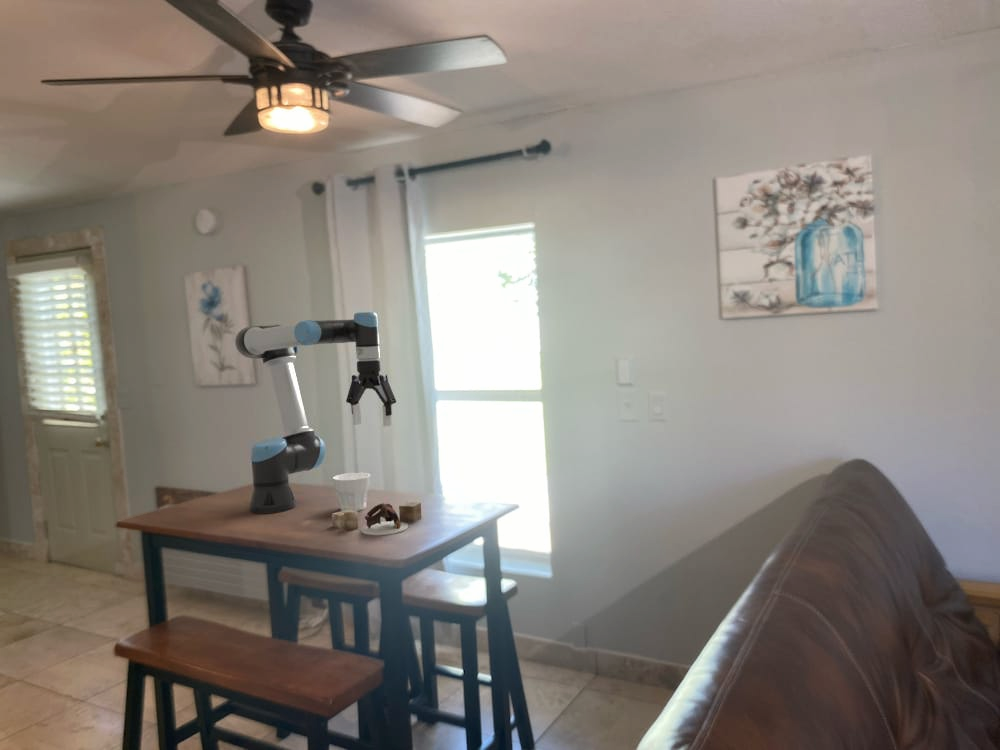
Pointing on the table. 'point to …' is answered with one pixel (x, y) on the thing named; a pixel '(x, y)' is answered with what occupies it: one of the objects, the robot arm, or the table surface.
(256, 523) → the table surface
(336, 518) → the maple block
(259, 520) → the table surface
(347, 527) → the oak dowel offcut
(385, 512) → the pottery mug
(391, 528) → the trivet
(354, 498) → the cup
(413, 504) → the walnut block
